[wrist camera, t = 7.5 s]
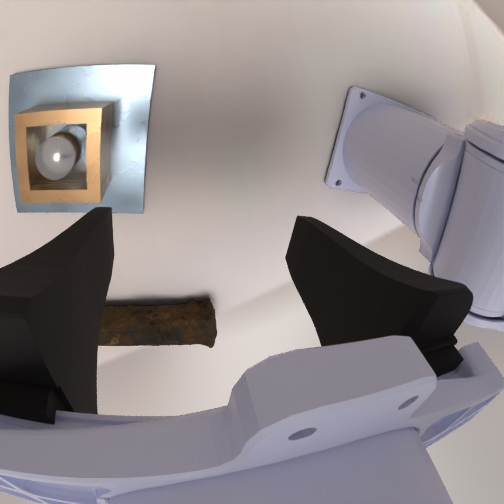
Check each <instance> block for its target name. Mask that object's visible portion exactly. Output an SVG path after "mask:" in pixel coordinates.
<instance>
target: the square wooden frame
mask: <svg viewBox="0 0 504 504" xmlns="http://www.w3.org/2000/svg"><path fill="white" fill-rule="evenodd" d="M113 103H114V101H95V102H72V103H57V104H45V105H36V106H34V107H31V108H29V109H26V110H24V111H21V112H19V113H17V114H15V149H16V163H17V174H18V183H19V191H20V199H21V203H101V201H102V199H103V197H104V195H105V192H106V190H107V188H108V186H109V184H110V161H111V132H112V116H113ZM81 123H87V137H86V170H87V171H70V172H69V173H68V174H67V175H66V176H65V177H63V178H61V179H58V180H51V179H48V178H46V177H44V176H43V175H42V174H41V173H40V172H39V170H38V169H37V166H36V161H35V156H36V152H37V149H38V147H39V146H40V145H41V143H43V142H44V141H45V140H47V125H59V124H81Z"/></svg>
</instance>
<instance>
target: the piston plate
mask: <svg viewBox="0 0 504 504" xmlns="http://www.w3.org/2000/svg"><path fill="white" fill-rule="evenodd" d="M155 66H156V65H92V66H76V67H64V68H55V69H46V70H38V71H31V72H25V73H19V74H13V75H10V85H9V142H10V158H11V169H12V179H13V187H14V195H15V201H16V208H17V213H24V212H87V213H88V212H89V211H91V210H92V209H94V208H95V207H112V213H141V214H143V210H144V181H145V162H146V147H147V135H148V124H149V113H150V104H151V96H152V88H153V80H154V73H155ZM95 101H114V103H113V116H112V132H111V161H110V184H109V186H108V188H107V190H106V192H105V195H104V197H103V199H102V201H101V203H21V199H20V191H19V183H18V174H17V163H16V149H15V114H17V113H19V112H21V111H24V110H26V109H29V108H31V107H34V106H36V105H45V104H57V103H72V102H95ZM86 137H87V123H81V124H59V125H47V140H45V141H44V142H43V143H41V145H40V146H39V147H38V149H37V152H36V156H35V161H36V166H37V169H38V170H39V172H40V173H41V174H42V175H43V176H44V177H46V178H48V179H51V180H58V179H61V178H63V177H65V176H66V175H67V174H68V173H69V172H70V171H87V170H86Z"/></svg>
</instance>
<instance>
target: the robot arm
mask: <svg viewBox="0 0 504 504" xmlns="http://www.w3.org/2000/svg"><path fill="white" fill-rule="evenodd" d="M360 93H363V97H362V98H360ZM337 180H339V183H338V184H336V181H337ZM325 183H326V185H327V186H328V187H330V188H335V189H342V190H349V191H355V192H362V193H368V194H370V195H371V196H372V197H373V198H375V199H376V200H377V201H378V202H379V203H381V204H382V205H383V206H384V207H385V208H386V209H388V210H389V211H390V212H391V213H392V214H393V215H395V216H396V217H397V218H398V219H399V220H400V221H401V222H403V223H404V224H405V225H406V226H407V227H408V228H409V229H410V230H412V231H413V232H414V233H415V234H416V235H417V236H418V237H419V238H420V241H421V244H420V249H419V252H420V253H421V254H422V255H423V256H424V257H425V258H426V259H427V260H428V261H429V262H430V263H431V264H430V266H429V269H428V274H425V273H422V272H419V271H416V270H413V269H411V268H408V267H406V266H403V265H400V264H398V263H396V262H393V261H391V260H389V259H387V258H385V257H383V256H381V255H378V254H377V253H375V252H373V251H371V250H369V249H367V248H366V247H364V246H362V245H360V244H358V243H357V242H355V241H353V240H352V239H350V238H348V237H347V236H345V235H343V234H342V233H340V232H338V231H337V230H335V229H333V228H332V227H330V226H328V225H327V224H325V223H323V222H321V221H319V220H317V219H315V218H312V217H306V216H297V218H296V222H295V225H294V229H293V233H292V236H291V240H290V243H289V247H288V250H287V254H286V257H285V258H286V262H287V265H288V269H289V272H290V275H291V278H292V280H293V282H294V284H295V286H296V288H297V290H298V292H299V294H300V296H301V298H302V300H303V302H304V304H305V307H306V309H307V311H308V313H309V315H310V317H311V318H312V321H313V323H314V326H315V328H316V331H317V334H318V337H319V340H320V343H321V346H322V347H314V348H306V349H297V350H293V351H289V352H286V353H281V354H277V355H274V356H270V357H268V358H266V359H265V360H263V361H261V362H259V363H258V364H256V365H254V366H252V367H251V368H249V369H247V370H246V371H245V373H244V374H243V375H242V376H241V378H240V379H239V381H238V382H237V383H236V384H235V386H234V387H233V389H232V392H231V396H230V399H229V403H228V405H227V406H223V407H219V408H214V409H210V410H205V411H201V412H196V413H191V414H186V415H180V416H116V415H98V413H97V387H96V386H97V385H96V384H97V382H96V380H97V377H96V375H97V350H98V337H99V328H100V322H101V317H102V313H103V309H104V304H105V300H106V296H107V292H108V288H109V284H110V280H111V275H112V268H113V260H114V243H113V226H112V207H95V208H94V209H92V210H91V211H89V212H88V213H87V214H86V215H84V216H83V217H82V218H81V219H79V220H78V221H77V222H75V223H74V224H73V225H72V226H70V227H69V228H68V229H66V230H65V231H64V232H62V233H61V234H59V235H58V236H57V237H55V238H54V239H53V240H51V241H50V242H48V243H47V244H45V245H44V246H42V247H40V248H39V249H37V250H35V251H34V252H32V253H30V254H29V255H27V256H25V257H23V258H21V259H19V260H17V261H15V262H13V263H11V264H9V265H7V266H4V267H2V268H0V491H1V492H4V493H7V494H9V495H12V496H15V497H19V498H22V499H25V500H29V501H32V502H35V503H39V504H453V502H452V500H451V498H450V496H449V494H448V492H447V490H446V488H445V486H444V484H443V482H442V480H441V478H440V476H439V474H438V472H437V470H436V468H435V466H434V464H433V462H432V460H431V458H430V456H429V454H428V452H427V450H426V447H428V446H430V445H432V444H433V443H435V442H436V441H438V440H440V439H441V438H443V437H445V436H446V435H448V434H449V433H451V432H452V431H454V430H456V429H457V428H459V427H460V426H462V425H463V424H465V423H466V422H468V421H469V420H471V419H472V418H473V417H474V416H475V415H476V414H478V413H479V412H480V411H481V410H482V409H483V408H484V407H485V406H487V405H488V404H489V403H490V402H491V401H492V400H493V399H494V398H495V397H496V396H497V395H498V394H499V393H500V392H501V391H502V390H503V389H504V377H503V376H502V374H501V373H500V371H499V370H498V369H497V367H496V366H495V364H494V363H493V362H492V360H491V359H490V358H489V356H488V355H487V354H486V352H485V351H484V349H483V348H482V347H481V346H480V344H479V343H478V342H474V343H472V344H469V345H466V346H464V347H462V348H461V349H460V350H457V349H456V348H455V346H454V345H455V344H456V343H457V339H456V337H455V336H454V333H455V332H456V330H457V329H458V328H459V326H460V325H461V323H462V322H464V323H467V324H470V325H472V326H476V327H481V328H490V329H496V330H499V331H502V332H504V126H501V125H498V124H495V123H492V122H489V121H485V120H477V121H475V122H473V123H472V124H468V125H466V128H465V133H463V132H461V131H459V130H456V129H454V128H452V127H449V126H447V125H445V124H442V123H440V122H438V121H437V120H436V119H435V118H433V117H431V116H429V115H426V114H424V113H422V112H420V111H417V110H415V109H413V108H411V107H408V106H406V105H404V104H401V103H399V102H396V101H394V100H391V99H389V98H386V97H383V96H381V95H378V94H375V93H373V92H370V91H367V90H364V89H361V88H358V87H352V88H351V89H350V90H349V93H348V97H347V101H346V105H345V109H344V113H343V117H342V121H341V125H340V128H339V132H338V136H337V140H336V143H335V147H334V151H333V154H332V158H331V162H330V165H329V169H328V172H327V176H326V179H325Z"/></svg>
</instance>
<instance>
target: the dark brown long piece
mask: <svg viewBox="0 0 504 504" xmlns="http://www.w3.org/2000/svg"><path fill="white" fill-rule="evenodd" d="M216 336H217V329H216V319H215V309H213V305H212V303H211V301H210V299H206V300H205V301H203V302H202V303H197V302H195V301H193V300H191V299H190V300H189V301H188V302H187V303H186V304H182V305H160V306H133V305H127V306H124V307H122V306H108V307H104V309H103V313H102V317H101V322H100V328H99V337H98V346H135V345H136V346H139V345H144V346H145V345H152V346H159V345H191V344H202V345H205V346H208V347H210V348H212V347H213V346H214V343H215V338H216Z"/></svg>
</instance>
